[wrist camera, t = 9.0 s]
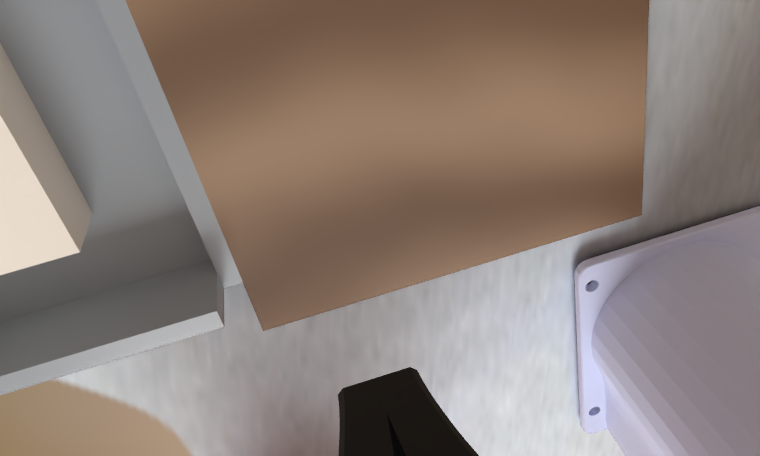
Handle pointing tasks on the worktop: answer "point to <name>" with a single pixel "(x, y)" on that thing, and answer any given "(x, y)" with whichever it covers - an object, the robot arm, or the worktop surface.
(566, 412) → the worktop surface
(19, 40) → the box
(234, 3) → the board
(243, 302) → the worktop surface
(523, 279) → the worktop surface
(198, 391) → the worktop surface
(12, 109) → the tile
